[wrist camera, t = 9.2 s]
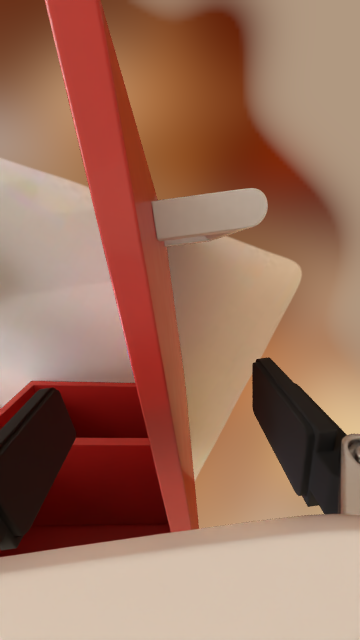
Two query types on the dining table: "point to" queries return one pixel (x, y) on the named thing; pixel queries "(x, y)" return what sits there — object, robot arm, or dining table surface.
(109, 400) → the box
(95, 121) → the fridge door
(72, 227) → the dining table surface
